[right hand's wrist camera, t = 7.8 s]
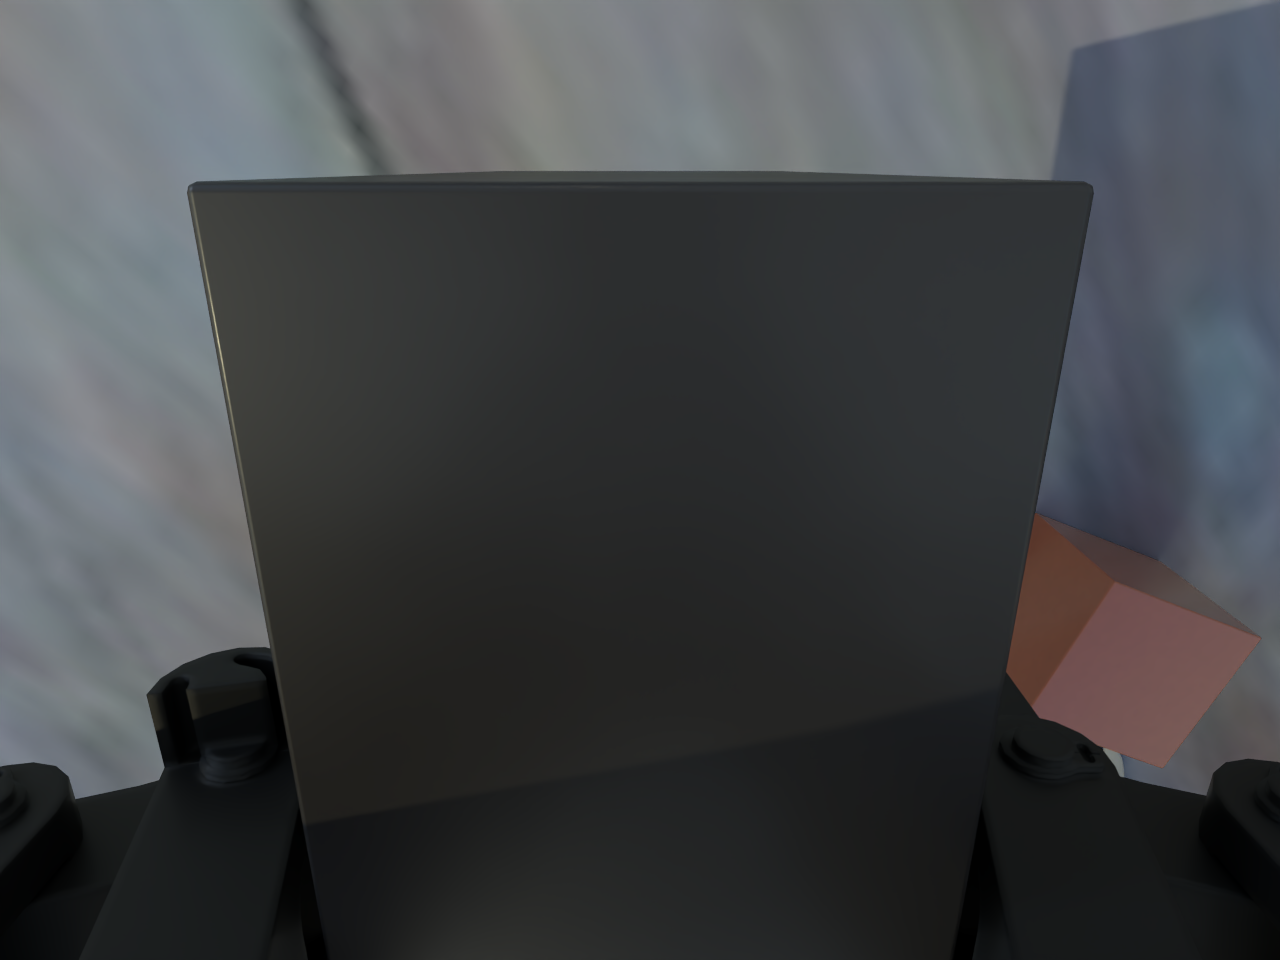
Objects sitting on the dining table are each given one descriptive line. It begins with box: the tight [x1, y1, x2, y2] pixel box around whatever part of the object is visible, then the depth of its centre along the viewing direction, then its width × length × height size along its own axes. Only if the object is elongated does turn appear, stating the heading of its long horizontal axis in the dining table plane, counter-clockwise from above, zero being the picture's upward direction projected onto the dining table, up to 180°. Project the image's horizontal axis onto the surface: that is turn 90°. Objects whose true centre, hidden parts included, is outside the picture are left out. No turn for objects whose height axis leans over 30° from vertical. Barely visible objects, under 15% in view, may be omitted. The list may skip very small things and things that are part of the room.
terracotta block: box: [1006, 513, 1261, 768], centre depth 27 cm, size 5×5×5 cm
